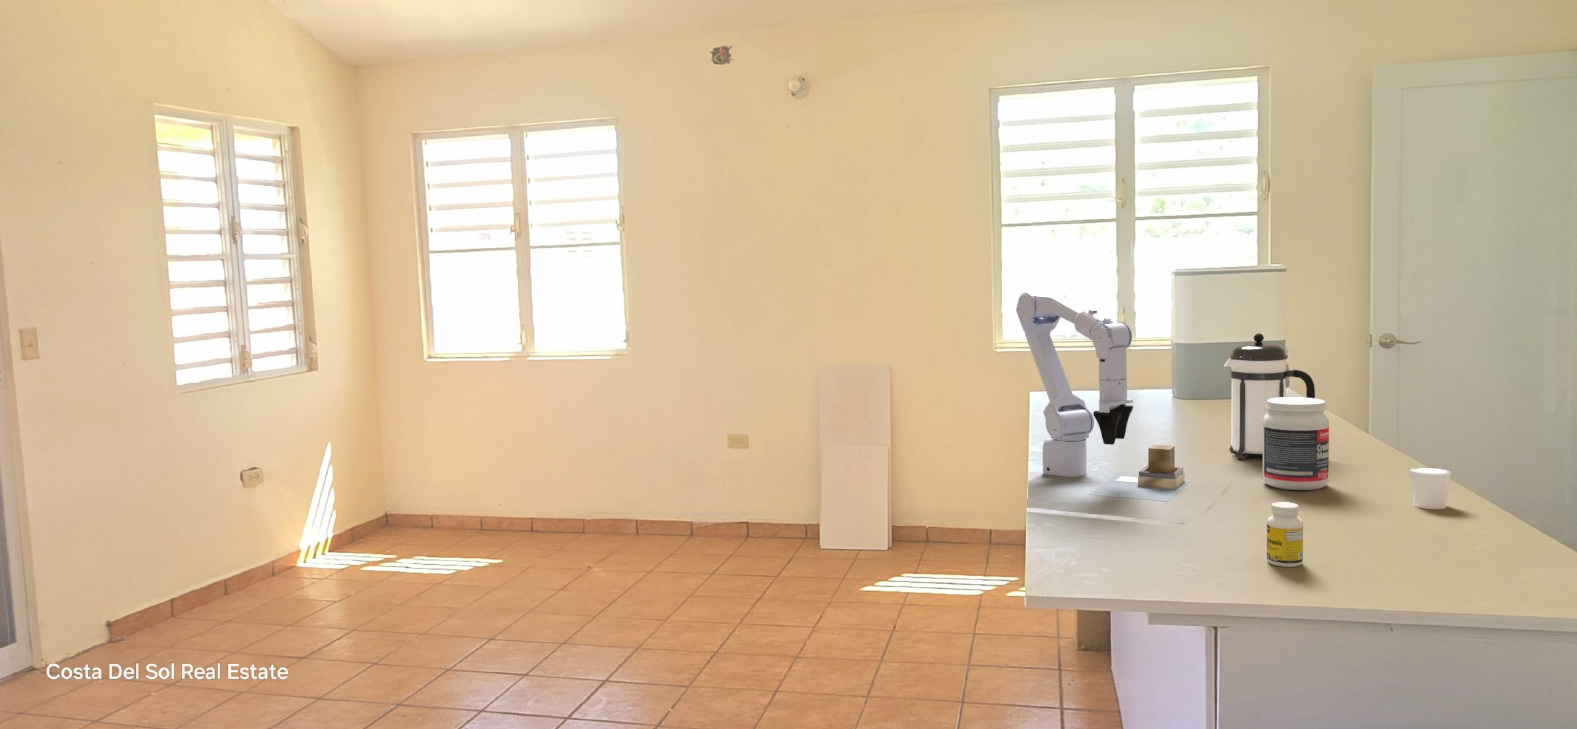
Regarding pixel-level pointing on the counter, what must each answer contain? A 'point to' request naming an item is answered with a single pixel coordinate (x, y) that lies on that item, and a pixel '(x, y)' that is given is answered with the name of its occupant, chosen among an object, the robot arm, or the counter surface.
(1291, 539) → the supplement bottle
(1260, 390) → the coffee press
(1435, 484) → the white cup
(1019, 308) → the robot arm
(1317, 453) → the supplement tub
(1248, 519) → the counter surface
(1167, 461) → the walnut block
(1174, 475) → the board
